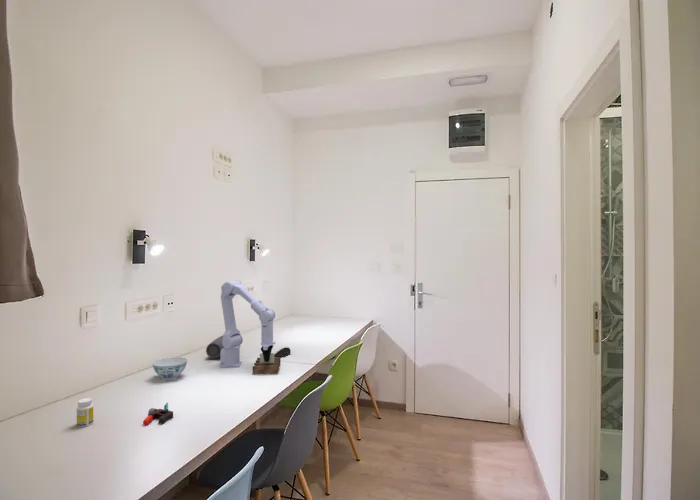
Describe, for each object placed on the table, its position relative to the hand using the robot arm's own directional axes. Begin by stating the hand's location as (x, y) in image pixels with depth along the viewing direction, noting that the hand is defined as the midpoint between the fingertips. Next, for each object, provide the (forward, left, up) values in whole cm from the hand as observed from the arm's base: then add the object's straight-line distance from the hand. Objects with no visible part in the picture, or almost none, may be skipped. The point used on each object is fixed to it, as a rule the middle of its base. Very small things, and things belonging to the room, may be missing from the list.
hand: (267, 360), depth 195 cm
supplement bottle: (-55, -57, -5) cm, 79 cm away
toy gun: (-33, -55, -5) cm, 64 cm away
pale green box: (0, 0, -3) cm, 3 cm away
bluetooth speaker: (-30, +30, -5) cm, 43 cm away
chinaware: (-44, -9, -5) cm, 45 cm away
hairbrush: (+3, +21, -5) cm, 22 cm away
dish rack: (0, 0, -4) cm, 4 cm away
